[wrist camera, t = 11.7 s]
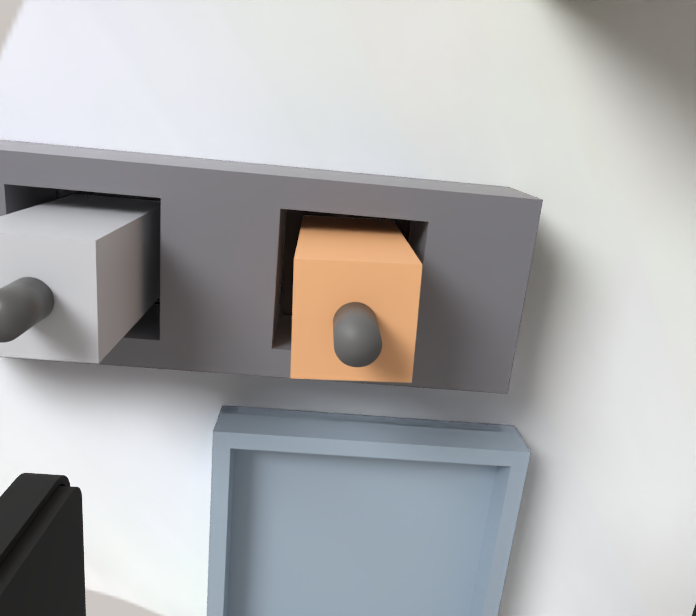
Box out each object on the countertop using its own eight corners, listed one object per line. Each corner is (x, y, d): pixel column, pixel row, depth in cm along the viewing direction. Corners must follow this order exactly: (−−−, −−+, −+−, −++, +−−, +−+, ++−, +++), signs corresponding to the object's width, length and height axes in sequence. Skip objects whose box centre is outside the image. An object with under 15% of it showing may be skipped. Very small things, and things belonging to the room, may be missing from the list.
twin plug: (168, 201, 27) (69, 254, 17) (167, 289, 28) (74, 389, 18) (75, 193, 27) (-85, 241, 16) (78, 282, 28) (-70, 379, 18)
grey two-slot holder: (508, 187, 28) (542, 199, 23) (480, 353, 30) (507, 393, 26) (-48, 135, 26) (-121, 138, 22) (-32, 315, 28) (-95, 350, 24)
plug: (392, 219, 28) (433, 280, 17) (386, 304, 29) (420, 409, 18) (303, 215, 28) (290, 274, 17) (300, 300, 29) (286, 405, 18)
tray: (514, 425, 31) (530, 452, 29) (470, 654, 35) (481, 695, 33) (222, 405, 30) (213, 431, 28) (213, 642, 34) (204, 683, 32)
